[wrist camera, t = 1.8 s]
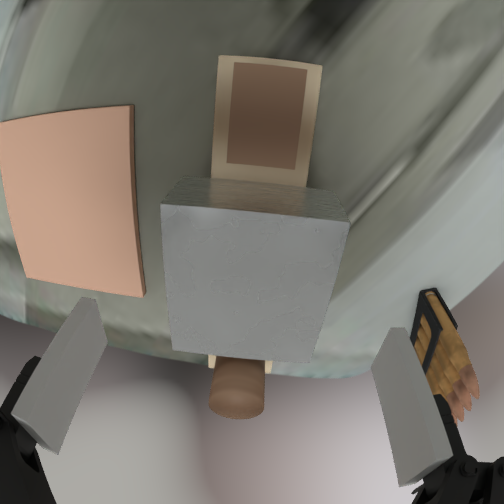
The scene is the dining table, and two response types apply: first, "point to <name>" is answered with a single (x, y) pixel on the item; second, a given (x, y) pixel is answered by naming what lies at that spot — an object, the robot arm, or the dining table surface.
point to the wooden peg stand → (259, 174)
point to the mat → (75, 197)
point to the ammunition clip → (443, 353)
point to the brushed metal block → (250, 266)
